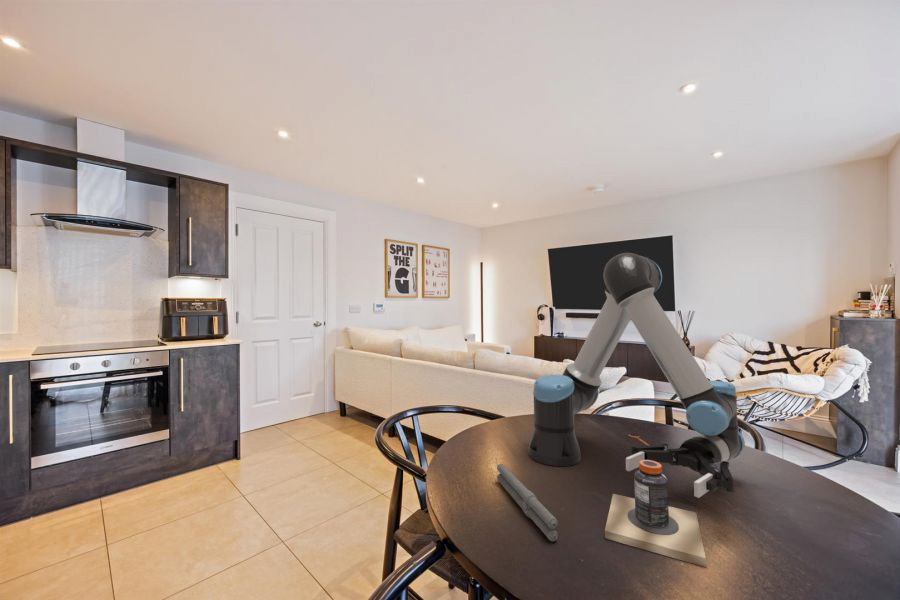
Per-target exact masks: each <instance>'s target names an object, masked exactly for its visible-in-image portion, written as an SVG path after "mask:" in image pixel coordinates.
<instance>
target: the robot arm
mask: <svg viewBox="0 0 900 600" xmlns="http://www.w3.org/2000/svg"><path fill="white" fill-rule="evenodd" d="M602 275H603V281H604V284H605V286H606V288H605V290H604V293H605V296H606V299H605V302H604V303H603V306H602V307H601V310H600V311H599V313H598V315H597V318H596V319H595V320H594V324H593V325H592V327H591V329H590V331H589V332H588V334H587V336H586V339H585V340H584V343H583V344H582V346H581V349H580V350H579V352H578V353H577V354H578V355H577V356H576V358H575V360H574V362H573V363H569V364H567V365H566V367H565V368H564V371H563V373H562V374H549V375H543V376H540V377H537V378H536V380H535V381H534V384H533V385H534V386H533V391H532V393H533V419H534V420H533V421H534V422H533V423H534V425H533V427H534V429H533V432H532V435H531V438H530V440H529V444H528V455H530V456H529V457H530V458H531V459H532V460H534V461H536V462H538V463H540V464H544V465H549V466H555V467H569V466H574V465H576V464H579V463H580V462H581V460H582V456H581V453H582V452H581V449H580V445H579V442H578V439H577V435H576V433H575V415H577V414H578V413H580V412H583V411H586V410H588V409H590V408H591V407H593V405H594V404H595V403H596V402H597V399H598V398H599V394H600V393H599V392H600V391H599V389H600V387H601V385H602V381H601V378H600V377H601V374H602V373H603V370H604V369H605V367H606V365H607V363H608V361H609V359H610V358H611V356H612V354H613V353H614V351H615V349H616V346H617V345H618V343H619V341H620V340H621V338H622V336H623V334H624V332H625V330H626V328H627V327H628V325H629V323H630V321H631V322H632V323H633V324H634V326H635V328H636V329H637V331H638V333H639V334H640V337H641V338H642V340H643V341H644V343H645V345H646V346H647V348H648V350H649V351H650V353H651V355H652V356H653V357H654V358H653V359H655V361H656V363H657V364H658V366H659V368H660V370H661V371H662V373H663V374H664V377H665V378H666V379H667V381H668V382H669V384H670V386H671V387H672V389H673V391H674V393H675V394H676V396H677V397H678V399H679V400H680V402H681V404H682V405H683V407H684V409H685V410H686V411H685V417H686V421H687V423H688V425H689V426H690V428H691V429H692V430H694V431H695V432H697V433H698V434H697V435H694V436H693V437H691V438H689V439H686V440H684V441H683V442H682V444H680V446H679V448H671V447H670V448H669V444H667V443H661V444H654V445H653V444H651V445H650V444H649V445H650V446H647V445H636V446H631V454H630V455H628V456H626V458H625V471H627V472H631V471H633V470H635V469H637V468H638V469H639V462H640V461H641V460H652V461H655V462H658V463H660V464H662V463H664V464H670V465H671V466H679V467H680V466H682V467H683V468H684V467H685V468H689V469H690V470H692V471H694V472H697V473H699V474H700V476H701V477H699V478H698V479H697V480H694V481H693V491H694V492H693V496H694V497H696V498H697V499H699V498H701V497H702V496H704V495H705V494H707V493H708V492H715V491H717V490H722V488H724V489H725V491H727V492H731V493H733V492H735V491H734V476H733V475H732V472H731V470H730V462H729V461H731V460H732V459H735V458H737V457H738V456H740V454H741V453H742V452H743V450H744V449H745V446H746V445H745V444H746V442H745V439H744V437H743V435H742V433H741V432H740V431H739V425H738V407H737V400H738V396H737V392H736V391H737V390H736V386H735V385H734V384H733V383H732V382H728V381H721V380H709V379H708V377H707V376H706V374H705V373H704V370H703V369H702V368H701V366H700V365H699V363H698V362H697V360H696V358H695V357H694V356H693V354H692V352H691V351H690V349H689V348H688V347H687V345H686V343H685V342H684V340H683V338H682V337H681V335H680V333H678V331H677V329H676V328H675V326H674V324H673V323H672V321H671V320H670V319H669V317H668V315H667V314H666V312H665V310H664V309H663V308H662V306H661V304H660V303H659V300H657V299H656V296H655V295H654V293H656V292H657V291H658V289H659V288H660V287H661V285H662V281H663V274H662V270H661V268H660V266H659V264H657V263H656V262H655V261H654V260H652V259H650V258H649V257H647V256H642V255H639V254H636V253H634V252H633V253H631V252H622V253H619V254H617V255H615V256H613V257H612V258H611V259H609V261H608V262H607V263H606V264H605V266H604V268H603V274H602Z"/></svg>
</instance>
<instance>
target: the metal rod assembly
mask: <svg viewBox="0 0 900 600" xmlns="http://www.w3.org/2000/svg"><path fill="white" fill-rule="evenodd" d="M496 470H497V471H498V472H499V473H498V474H497V475H496V479H497V481H498V483H499V484H500V485H501V486H502V487H503V488H504V489H505V491H506V492H507V493H508V494H509V495H510V497H511V498H512V499H513V500H514V501H515V502H516V503H517V505H518V506H519V507H520V508H521V509H522V512H523V513H524V515H525V516H526V517H527V518H528V519H531V520H532V522H534V524H535V525H536V526H537V527H538V529H540V531H541V532H542V533H543V534H544V535H545V536H546V538H547V539H548V540H549V541H550V542H555V541H556V540H557V539H558V537H559V534H558V532H557V531H556V530H555V528H557V526H558V523H559V521H558V520H557V518H556V517H555V516H554V515H553V514H552V513H551V512H550V511H549V510H548V509H547V508H546V507H545V506H544V505H543V504H542V503H541V502H540V501H539V500H538V498H537V497H538V496H536V495H535V494H534V492H532V491H531V490H529V489H528V488H527V487H526V486H525V485H524V484H523V483H522V482H521V481H520V480H519V479H518V478H517V477H516V475H514V473H512V471H510V469H508V468H507V467H506V466H505V465H504V464H503V463H498V464H497V466H496Z"/></svg>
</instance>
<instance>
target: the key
mask: <svg viewBox="0 0 900 600" xmlns="http://www.w3.org/2000/svg"><path fill="white" fill-rule="evenodd" d="M627 436H628V437H629V438H633V439H636V440H638V441H639V442H641V443H642V444H643V445H644V446H650V444H649V443H647V442H646V441H644V439H642V438H641V436H640V435H639V434H636V433H628V435H627Z"/></svg>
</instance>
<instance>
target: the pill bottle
mask: <svg viewBox="0 0 900 600" xmlns="http://www.w3.org/2000/svg"><path fill="white" fill-rule="evenodd" d="M662 472H663V466H662V463H658V462H655V461H652V460H641V461H640V462H639V467H638V470H635V472H634V474H633V475H634V499H635V515H636V517H637V519H638V520H639V521H641V522H642V523H644V524H646V525H649V526H653V527H665V526H667V525H668V523H669V510H668V509H669V508H668V506H669V485H668V483H669V482H668V478H667V477H666V475H664V474H663V473H662Z"/></svg>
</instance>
